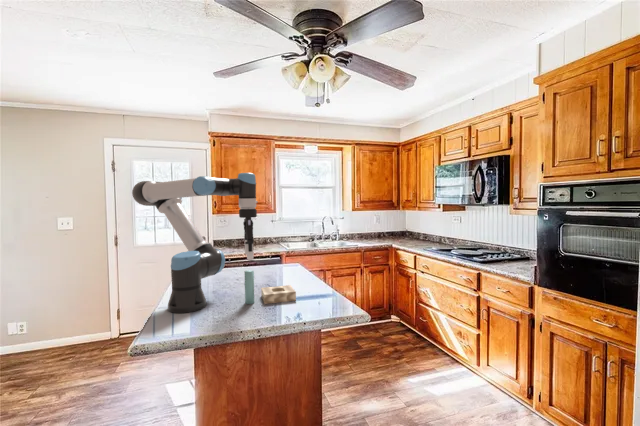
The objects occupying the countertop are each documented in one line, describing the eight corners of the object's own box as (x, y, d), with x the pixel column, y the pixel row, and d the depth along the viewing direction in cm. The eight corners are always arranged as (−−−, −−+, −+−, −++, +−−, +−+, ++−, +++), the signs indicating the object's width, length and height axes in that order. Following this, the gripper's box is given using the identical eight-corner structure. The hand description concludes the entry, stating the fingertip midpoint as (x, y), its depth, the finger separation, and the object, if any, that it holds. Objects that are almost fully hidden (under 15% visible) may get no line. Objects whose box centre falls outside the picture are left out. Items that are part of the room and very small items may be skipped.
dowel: (245, 304, 138) (244, 272, 137) (244, 301, 142) (244, 270, 141) (254, 303, 139) (254, 271, 139) (254, 300, 143) (253, 270, 142)
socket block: (264, 303, 138) (264, 294, 138) (261, 296, 150) (261, 287, 150) (295, 300, 142) (295, 291, 142) (290, 293, 154) (290, 285, 154)
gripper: (259, 208, 128) (260, 260, 129) (254, 207, 152) (255, 251, 153) (240, 209, 126) (241, 262, 127) (237, 208, 150) (239, 252, 150)
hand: (249, 256), depth 140 cm, fingers open, 13 cm apart
